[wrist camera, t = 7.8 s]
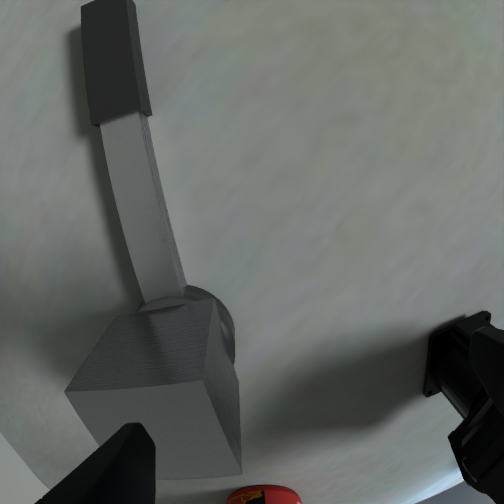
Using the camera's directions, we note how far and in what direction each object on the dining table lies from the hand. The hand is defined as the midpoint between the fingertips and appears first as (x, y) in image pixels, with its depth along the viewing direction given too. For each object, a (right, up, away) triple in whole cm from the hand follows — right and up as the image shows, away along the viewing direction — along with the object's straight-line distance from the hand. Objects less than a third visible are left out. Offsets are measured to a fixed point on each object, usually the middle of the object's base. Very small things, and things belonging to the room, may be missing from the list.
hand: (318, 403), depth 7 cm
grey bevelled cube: (-6, -2, +10) cm, 12 cm away
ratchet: (-8, +7, +10) cm, 14 cm away
